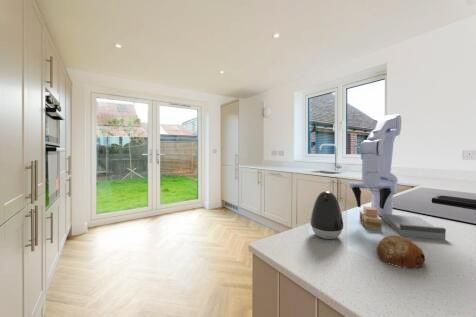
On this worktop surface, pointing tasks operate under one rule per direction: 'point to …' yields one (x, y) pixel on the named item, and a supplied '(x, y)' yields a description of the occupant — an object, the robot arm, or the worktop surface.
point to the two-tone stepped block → (370, 221)
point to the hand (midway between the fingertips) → (370, 207)
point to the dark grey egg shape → (326, 216)
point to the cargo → (370, 211)
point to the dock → (414, 227)
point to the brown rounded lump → (400, 252)
